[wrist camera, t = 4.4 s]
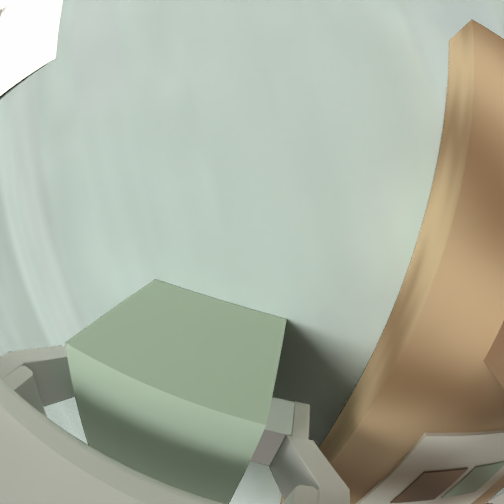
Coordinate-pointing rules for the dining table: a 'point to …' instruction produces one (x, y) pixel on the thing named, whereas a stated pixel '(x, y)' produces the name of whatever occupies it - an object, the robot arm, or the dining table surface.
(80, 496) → the robot arm
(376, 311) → the dining table surface
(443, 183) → the oak base board
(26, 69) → the paper sheet
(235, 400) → the sage block
